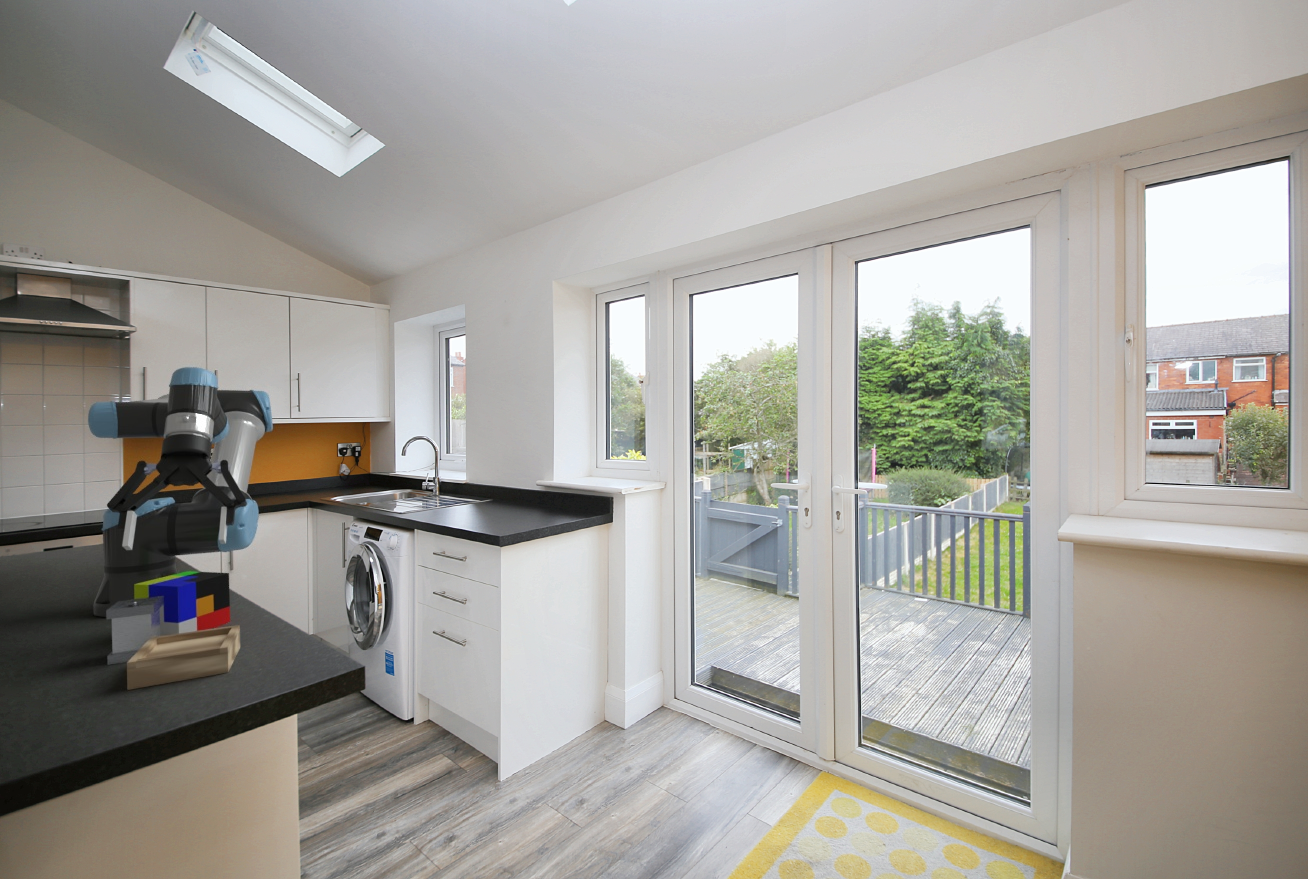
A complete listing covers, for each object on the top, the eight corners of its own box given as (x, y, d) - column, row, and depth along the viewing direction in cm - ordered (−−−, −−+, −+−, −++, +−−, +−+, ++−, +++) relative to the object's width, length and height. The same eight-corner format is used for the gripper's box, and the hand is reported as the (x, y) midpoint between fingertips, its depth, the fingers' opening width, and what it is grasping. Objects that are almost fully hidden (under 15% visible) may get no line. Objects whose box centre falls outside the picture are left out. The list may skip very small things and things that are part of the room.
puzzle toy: (179, 641, 104) (177, 586, 104) (135, 637, 106) (134, 584, 106) (230, 622, 114) (228, 573, 113) (189, 620, 116) (188, 571, 115)
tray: (151, 661, 94) (151, 637, 94) (240, 647, 100) (239, 624, 100) (127, 689, 84) (126, 662, 84) (228, 672, 90) (227, 647, 89)
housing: (120, 652, 98) (118, 597, 98) (165, 646, 101) (163, 592, 101) (107, 664, 93) (106, 606, 93) (155, 657, 96) (153, 601, 96)
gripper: (96, 431, 103) (76, 544, 95) (262, 432, 116) (256, 533, 108) (109, 448, 109) (90, 556, 101) (265, 448, 122) (260, 544, 114)
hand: (176, 544), depth 104 cm, fingers open, 13 cm apart
